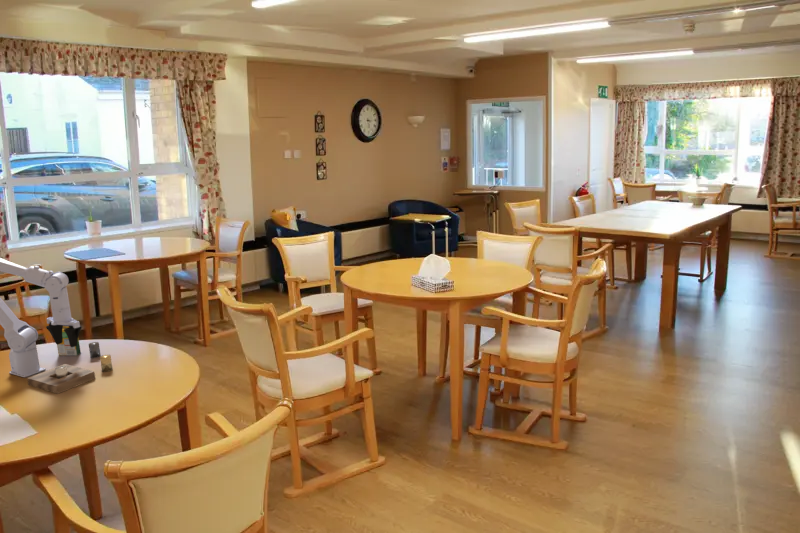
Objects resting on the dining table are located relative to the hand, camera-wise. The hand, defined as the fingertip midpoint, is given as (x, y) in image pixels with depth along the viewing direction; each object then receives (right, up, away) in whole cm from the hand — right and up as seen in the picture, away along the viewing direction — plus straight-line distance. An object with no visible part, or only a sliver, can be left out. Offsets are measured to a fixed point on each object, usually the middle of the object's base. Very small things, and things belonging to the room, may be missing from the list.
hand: (66, 344), depth 243 cm
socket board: (+2, -12, -8) cm, 14 cm away
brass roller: (+14, -9, +1) cm, 16 cm away
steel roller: (+2, -11, -8) cm, 14 cm away
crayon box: (-7, -6, +18) cm, 20 cm away
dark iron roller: (+4, -6, +15) cm, 17 cm away
